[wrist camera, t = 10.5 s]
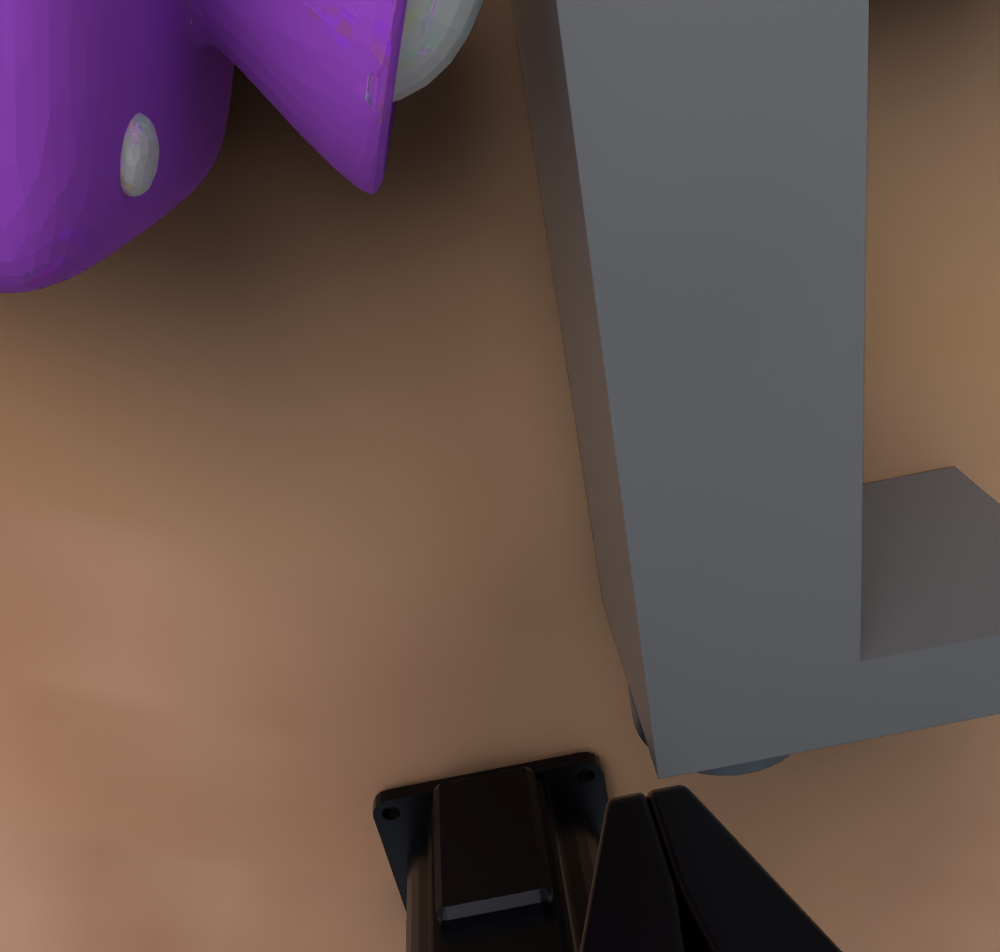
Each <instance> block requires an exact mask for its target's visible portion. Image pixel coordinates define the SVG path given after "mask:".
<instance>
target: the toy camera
mask: <svg viewBox="0 0 1000 952" xmlns="http://www.w3.org/2000/svg"><path fill="white" fill-rule="evenodd" d="M483 2H484V0H0V293H16V292H26V291H31V290H36V289H41V288H44V287H47V286H50V285H53V284H56V283H58V282H61V281H64V280H67V279H69V278H71V277H74V276H76V275H78V274H80V273H82V272H83V271H85V270H87V269H88V268H90V267H92V266H93V265H95V264H97V263H98V262H100V261H101V260H103V259H105V258H106V257H108V256H109V255H111V254H112V253H113V252H115V251H116V250H118V249H119V248H121V247H122V246H123V245H125V244H126V243H128V242H129V241H131V240H132V239H133V238H135V237H136V236H138V235H139V234H141V233H142V232H143V231H145V230H146V229H148V228H149V227H151V226H152V225H153V224H155V223H156V222H157V221H158V220H160V219H161V218H162V217H163V216H165V215H166V214H167V213H168V212H170V211H171V210H172V209H173V208H174V207H175V206H176V205H178V204H179V203H180V202H181V201H182V200H183V199H185V198H186V197H187V196H188V195H189V194H190V193H191V192H192V191H193V190H194V189H195V188H196V187H197V186H198V185H199V184H200V183H201V182H202V181H203V179H204V178H205V177H206V176H207V174H208V173H209V171H210V170H211V168H212V166H213V165H214V163H215V161H216V158H217V156H218V154H219V151H220V148H221V145H222V141H223V138H224V134H225V129H226V123H227V117H228V112H229V106H230V98H231V89H232V80H233V70H234V64H235V65H236V66H237V67H238V68H239V69H240V70H241V71H242V72H243V73H244V74H245V75H246V77H247V78H248V79H249V80H250V81H251V82H252V83H253V84H254V85H255V86H256V87H257V88H258V89H259V91H260V92H261V93H262V94H263V95H264V96H265V97H266V98H267V99H268V100H269V101H270V102H271V104H272V105H273V106H274V107H275V108H276V109H277V110H278V111H279V112H280V113H281V114H282V115H283V116H284V118H285V119H286V120H287V121H288V122H289V123H290V124H291V125H292V126H293V127H294V128H295V129H296V131H297V132H298V133H299V134H300V135H301V136H302V137H303V138H304V139H305V140H306V141H307V142H308V143H309V144H310V145H311V146H312V147H313V148H314V149H315V150H316V151H317V152H318V153H319V154H320V155H321V156H322V157H323V158H324V159H325V160H326V161H327V162H328V163H329V164H330V165H331V166H332V167H333V168H334V169H336V170H337V171H338V172H339V173H340V174H342V175H343V176H344V177H345V178H346V179H348V180H349V181H350V182H351V183H352V184H354V185H355V186H356V187H357V188H358V189H360V190H362V191H365V192H367V193H369V194H374V193H376V192H377V191H378V190H379V188H380V186H381V184H382V181H383V177H384V172H385V167H386V162H387V157H388V151H389V145H390V139H391V133H392V126H393V120H394V114H395V108H396V102H397V101H398V100H401V99H403V98H405V97H407V96H409V95H410V94H412V93H414V92H416V91H418V90H420V89H421V88H423V87H425V86H427V85H428V84H429V83H430V82H431V81H432V80H434V79H435V78H436V77H437V76H438V75H439V74H440V73H441V72H442V71H443V70H444V69H445V68H446V67H447V66H449V65H450V63H451V62H452V60H453V59H454V57H455V56H456V55H457V53H458V52H459V50H460V49H461V47H462V46H463V44H464V43H465V41H466V40H467V38H468V37H469V35H470V32H471V30H472V28H473V26H474V23H475V21H476V19H477V17H478V14H479V12H480V10H481V8H482V5H483Z"/></svg>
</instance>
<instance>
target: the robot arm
mask: <svg viewBox="0 0 1000 952" xmlns="http://www.w3.org/2000/svg"><path fill="white" fill-rule="evenodd" d="M584 769H590V770H588V771H586V772H580V771H581V770H584ZM388 807H395V808H394V809H388ZM373 817H374V820H375V823H376V826H377V829H378V831H379V834H380V837H381V840H382V843H383V846H384V849H385V852H386V855H387V857H388V860H389V863H390V866H391V869H392V872H393V875H394V878H395V881H396V883H397V886H398V889H399V892H400V895H401V898H402V901H403V904H404V907H405V909H406V912H407V919H406V952H842V951H841V950H840V949H839V948H838V947H837V946H836V945H835V943H834V942H833V941H832V940H831V939H830V938H829V937H828V936H827V935H826V934H825V933H824V932H823V931H822V930H821V929H820V928H819V927H818V925H817V924H816V923H815V922H814V921H813V920H812V919H811V918H810V917H809V916H808V915H807V914H806V913H805V912H804V911H803V910H802V908H801V907H800V906H799V905H798V904H797V903H796V902H795V901H794V900H793V899H792V898H791V897H790V896H789V895H788V894H787V893H786V892H785V890H784V889H783V888H782V887H781V886H780V885H779V884H778V883H777V882H776V881H775V880H774V879H773V878H772V877H771V876H770V875H769V873H768V872H767V871H766V870H765V869H764V868H763V867H762V866H761V865H760V864H759V863H758V862H757V861H756V860H755V859H754V858H753V857H752V855H751V854H750V853H749V852H748V851H747V850H746V849H745V848H744V847H743V846H742V845H741V844H740V843H739V842H738V841H737V840H736V838H735V837H734V836H733V835H732V834H731V833H730V832H729V831H728V830H727V829H726V828H725V827H724V826H723V825H722V824H721V823H720V821H719V820H718V819H717V818H716V817H715V816H714V815H713V814H712V813H711V812H710V811H709V810H708V809H707V808H706V807H705V806H704V805H703V803H702V802H701V801H700V800H699V799H698V798H697V797H696V796H695V795H694V794H693V793H692V792H691V791H690V790H689V789H688V788H687V787H685V786H682V785H677V786H671V787H666V788H661V789H656V790H652V791H650V792H649V793H648V796H647V797H646V796H645V795H644V794H642V793H635V794H630V795H625V796H619V797H614V798H611V799H610V800H609V801H608V797H607V791H606V785H605V779H604V773H603V769H602V765H601V761H600V759H599V757H598V756H596V755H595V754H593V753H589V752H580V753H575V754H570V755H565V756H560V757H555V758H549V759H544V760H539V761H534V762H529V763H523V764H518V765H513V766H508V767H503V768H498V769H492V770H487V771H482V772H477V773H472V774H466V775H461V776H456V777H451V778H446V779H441V780H435V781H430V782H425V783H420V784H415V785H409V786H404V787H399V788H394V789H389V790H385V791H382V792H380V793H379V794H378V795H377V796H376V797H375V799H374V806H373Z"/></svg>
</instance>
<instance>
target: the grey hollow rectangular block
mask: <svg viewBox="0 0 1000 952" xmlns="http://www.w3.org/2000/svg"><path fill="white" fill-rule="evenodd" d="M511 1H512V8H513V15H514V21H515V28H516V34H517V41H518V48H519V54H520V61H521V67H522V74H523V80H524V87H525V94H526V100H527V107H528V113H529V120H530V126H531V133H532V140H533V146H534V153H535V159H536V166H537V173H538V179H539V186H540V192H541V199H542V205H543V212H544V219H545V225H546V232H547V238H548V245H549V251H550V258H551V265H552V271H553V278H554V284H555V291H556V298H557V304H558V311H559V317H560V324H561V330H562V337H563V344H564V350H565V357H566V363H567V370H568V377H569V383H570V390H571V396H572V403H573V409H574V416H575V423H576V429H577V436H578V442H579V449H580V455H581V462H582V469H583V475H584V482H585V488H586V495H587V502H588V508H589V515H590V521H591V528H592V534H593V541H594V548H595V554H596V561H597V567H598V574H599V580H600V587H601V594H602V600H603V605H604V608H605V611H606V614H607V617H608V620H609V624H610V627H611V630H612V633H613V636H614V639H615V643H616V646H617V649H618V652H619V655H620V659H621V662H622V665H623V668H624V671H625V674H626V678H627V681H628V687H629V693H630V700H631V707H632V714H633V720H634V725H635V727H636V730H637V732H638V734H639V736H640V737H641V739H642V740H643V742H644V743H645V744H646V745H647V746H648V748H649V751H650V754H651V757H652V760H653V763H654V767H655V770H656V773H657V776H658V779H663V778H668V777H673V776H678V775H684V774H689V773H694V772H697V773H702V774H708V775H722V776H725V775H740V774H747V773H752V772H756V771H760V770H763V769H765V768H768V767H771V766H773V765H775V764H777V763H779V762H781V761H782V760H784V759H785V758H787V757H788V756H790V755H791V754H793V753H798V752H803V751H808V750H813V749H819V748H824V747H829V746H834V745H839V744H845V743H850V742H855V741H860V740H865V739H871V738H876V737H881V736H886V735H891V734H897V733H902V732H907V731H912V730H917V729H922V728H928V727H933V726H938V725H943V724H948V723H954V722H959V721H964V720H969V719H974V718H980V717H985V716H990V715H995V714H1000V504H999V503H998V502H996V501H995V500H994V499H993V498H992V497H990V496H989V495H988V494H987V493H986V492H984V491H983V490H982V489H981V488H980V487H978V486H977V485H976V484H975V483H974V482H973V481H971V480H970V479H969V478H968V477H967V476H965V475H964V474H963V473H962V472H961V471H959V470H958V469H957V468H956V467H955V466H953V467H948V468H943V469H938V470H932V471H927V472H922V473H917V474H912V475H907V476H902V477H897V478H891V479H886V480H881V481H876V482H871V483H866V484H862V483H863V406H864V330H865V253H866V177H867V100H868V24H869V0H511Z"/></svg>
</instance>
